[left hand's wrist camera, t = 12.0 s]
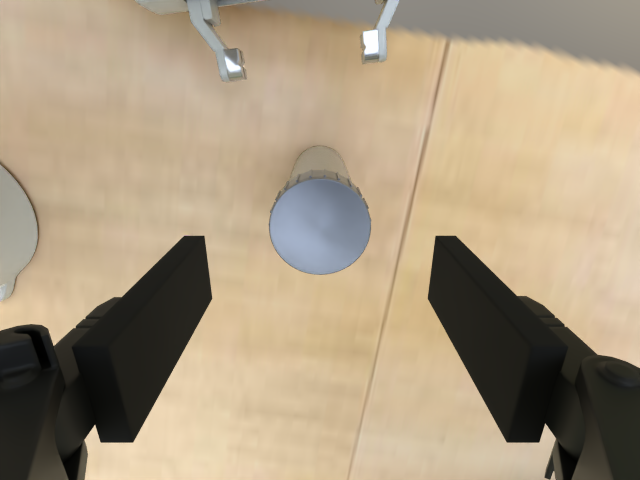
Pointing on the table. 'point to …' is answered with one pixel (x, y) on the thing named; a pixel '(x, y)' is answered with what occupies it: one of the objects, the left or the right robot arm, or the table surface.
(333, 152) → the metal thermos flask
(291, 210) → the lid
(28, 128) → the table surface
